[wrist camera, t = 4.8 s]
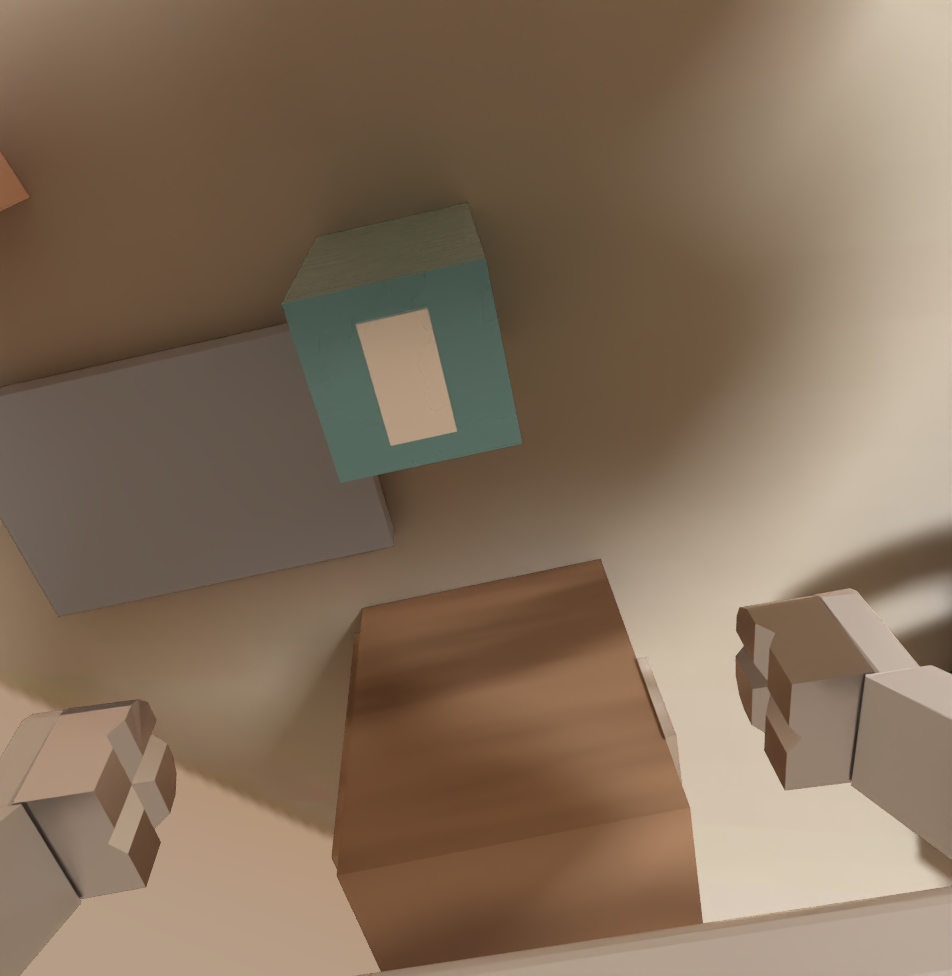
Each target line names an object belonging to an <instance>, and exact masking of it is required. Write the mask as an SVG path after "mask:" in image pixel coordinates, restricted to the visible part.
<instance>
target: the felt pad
mask: <svg viewBox="0 0 952 976" xmlns="http://www.w3.org/2000/svg"><path fill="white" fill-rule="evenodd" d="M0 518H1V520H2V522H3V523H4V525H5V527H6V528H7V530H8V532H9V534H10V535H11V537H12V539H13V540H14V542H15V544H16V546H17V547H18V549H19V551H20V552H21V554H22V556H23V557H24V559H25V561H26V563H27V564H28V566H29V568H30V569H31V571H32V573H33V575H34V576H35V578H36V580H37V581H38V583H39V585H40V587H41V588H42V590H43V592H44V593H45V595H46V597H47V598H48V600H49V602H50V604H51V605H52V607H53V609H54V610H55V612H56V614H57V616H58V617H60V616H65V615H70V614H75V613H79V612H84V611H89V610H94V609H98V608H103V607H108V606H113V605H117V604H122V603H127V602H132V601H136V600H141V599H146V598H151V597H155V596H160V595H165V594H170V593H174V592H179V591H184V590H189V589H193V588H198V587H203V586H208V585H212V584H217V583H222V582H227V581H231V580H236V579H241V578H246V577H250V576H255V575H260V574H264V573H269V572H274V571H279V570H283V569H288V568H293V567H298V566H302V565H307V564H312V563H317V562H321V561H326V560H331V559H336V558H340V557H345V556H350V555H355V554H359V553H364V552H369V551H374V550H378V549H383V548H388V547H393V546H394V527H393V524H392V521H391V518H390V514H389V511H388V508H387V504H386V501H385V498H384V495H383V491H382V488H381V485H380V481H379V478H378V475H375V476H371V477H366V478H361V479H357V480H352V481H347V482H343V483H340V480H339V477H338V474H337V471H336V468H335V465H334V462H333V459H332V456H331V453H330V450H329V447H328V444H327V441H326V438H325V435H324V432H323V429H322V426H321V422H320V419H319V416H318V413H317V410H316V407H315V404H314V401H313V398H312V395H311V392H310V389H309V386H308V383H307V380H306V377H305V374H304V371H303V368H302V365H301V362H300V359H299V356H298V353H297V350H296V347H295V344H294V341H293V338H292V335H291V332H290V329H289V326H288V323H285V324H281V325H276V326H272V327H267V328H263V329H258V330H254V331H249V332H245V333H241V334H236V335H232V336H227V337H223V338H218V339H214V340H209V341H205V342H200V343H196V344H191V345H187V346H182V347H178V348H174V349H169V350H165V351H160V352H156V353H151V354H147V355H142V356H138V357H133V358H129V359H124V360H120V361H115V362H111V363H107V364H102V365H98V366H93V367H89V368H84V369H80V370H75V371H71V372H66V373H62V374H57V375H53V376H48V377H44V378H40V379H35V380H31V381H26V382H22V383H17V384H13V385H8V386H4V387H0Z"/></svg>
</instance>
